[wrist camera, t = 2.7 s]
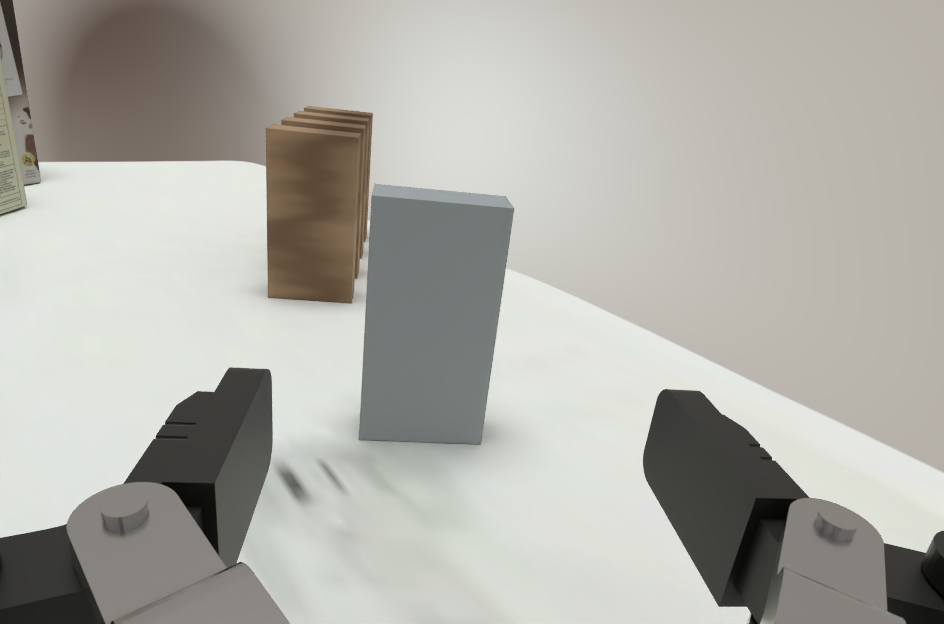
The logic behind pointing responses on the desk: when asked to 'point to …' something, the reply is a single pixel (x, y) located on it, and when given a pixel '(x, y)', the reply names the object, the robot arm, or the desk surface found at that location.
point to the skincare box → (9, 158)
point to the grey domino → (431, 312)
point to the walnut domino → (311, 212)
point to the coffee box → (17, 93)
